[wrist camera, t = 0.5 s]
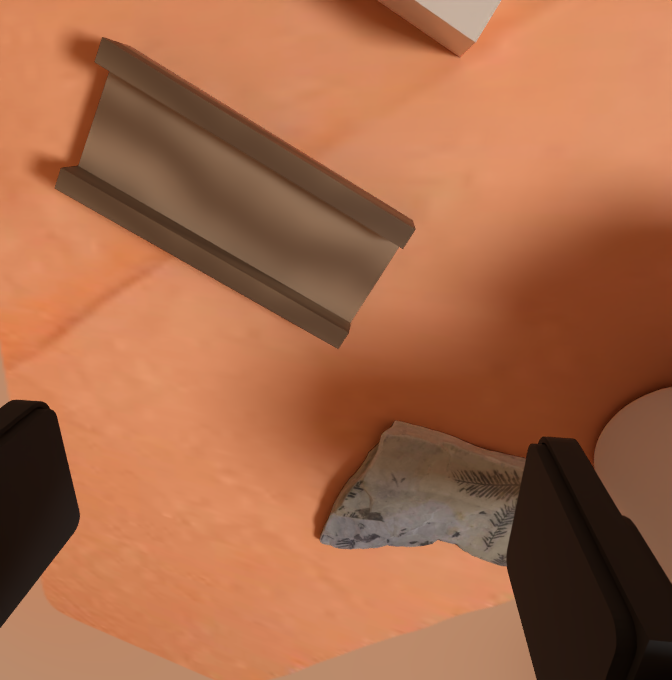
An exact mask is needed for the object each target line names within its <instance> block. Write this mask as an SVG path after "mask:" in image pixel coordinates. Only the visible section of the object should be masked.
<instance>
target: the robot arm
mask: <svg viewBox="0 0 672 680" xmlns="http://www.w3.org/2000/svg"><path fill="white" fill-rule="evenodd" d="M79 519H80V513H79V508H78V503H77V499H76V495H75V491H74V487H73V482H72V478H71V474H70V470H69V465H68V461H67V457H66V453H65V449H64V444H63V440H62V436H61V432H60V427H59V423H58V419H57V416H56V413H55V412H54V411H53V410H51V409H50V408H49V406H48V405H47V404H46V403H44V402H42V401H28V400H12V401H10V402H8V403H6V404H5V405H4V406H2V407H1V408H0V628H1V626H2V625H3V624H4V623H5V621H6V620H7V619H8V617H9V616H10V615H11V613H12V612H13V611H14V610H15V608H16V607H17V606H18V604H19V603H20V602H21V601H22V599H23V598H24V597H25V595H26V594H27V593H28V592H29V590H30V589H31V588H32V586H33V585H34V584H35V582H36V581H37V580H38V579H39V577H40V576H41V575H42V573H43V572H44V571H45V570H46V568H47V567H48V566H49V564H50V563H51V562H52V560H53V559H54V558H55V557H56V555H57V554H58V553H59V551H60V550H61V549H62V548H63V546H64V545H65V544H66V542H67V541H68V540H69V538H70V537H71V536H72V535H73V533H74V532H75V530H76V528H77V526H78V523H79ZM506 562H507V570H508V574H509V578H510V582H511V585H512V589H513V593H514V597H515V600H516V604H517V608H518V611H519V615H520V619H521V623H522V626H523V630H524V634H525V637H526V641H527V645H528V648H529V652H530V656H531V660H532V663H533V667H534V671H535V674H536V678H537V680H672V583H671V582H670V580H669V578H668V577H667V575H666V574H665V572H664V570H663V569H662V567H661V566H660V564H659V562H658V561H657V559H656V557H655V556H654V554H653V553H652V551H651V549H650V548H649V546H648V545H647V543H646V541H645V540H644V538H643V537H642V535H641V533H640V532H639V530H638V528H637V527H636V525H635V524H634V523H633V522H632V520H631V519H630V518H628V517H626V516H624V515H621V513H620V511H619V510H618V508H617V506H616V505H615V503H614V501H613V500H612V498H611V496H610V495H609V493H608V491H607V490H606V488H605V486H604V485H603V483H602V481H601V480H600V478H599V476H598V475H597V473H596V471H595V470H594V468H593V466H592V465H591V463H590V461H589V460H588V458H587V456H586V455H585V453H584V451H583V450H582V448H581V446H580V445H579V443H578V442H577V441H576V440H575V439H570V438H556V437H542V438H541V439H540V441H539V443H538V444H530V446H529V448H528V452H527V456H526V461H525V466H524V471H523V476H522V480H521V485H520V490H519V495H518V499H517V504H516V509H515V514H514V519H513V523H512V528H511V533H510V538H509V542H508V547H507V554H506Z"/></svg>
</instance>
